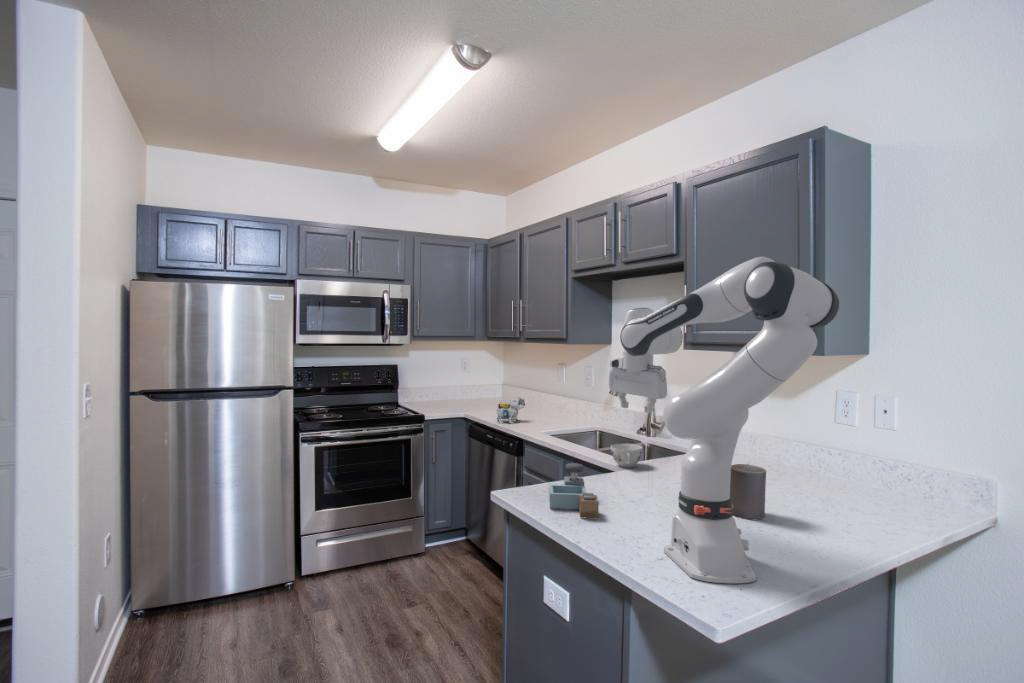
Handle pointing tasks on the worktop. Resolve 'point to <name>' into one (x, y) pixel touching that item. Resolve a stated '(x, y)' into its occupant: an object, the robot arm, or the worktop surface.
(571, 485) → the teal open storage bin
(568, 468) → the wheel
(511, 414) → the robotic toy
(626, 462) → the teacup
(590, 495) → the brown wooden block
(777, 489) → the worktop surface
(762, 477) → the pillar candle
